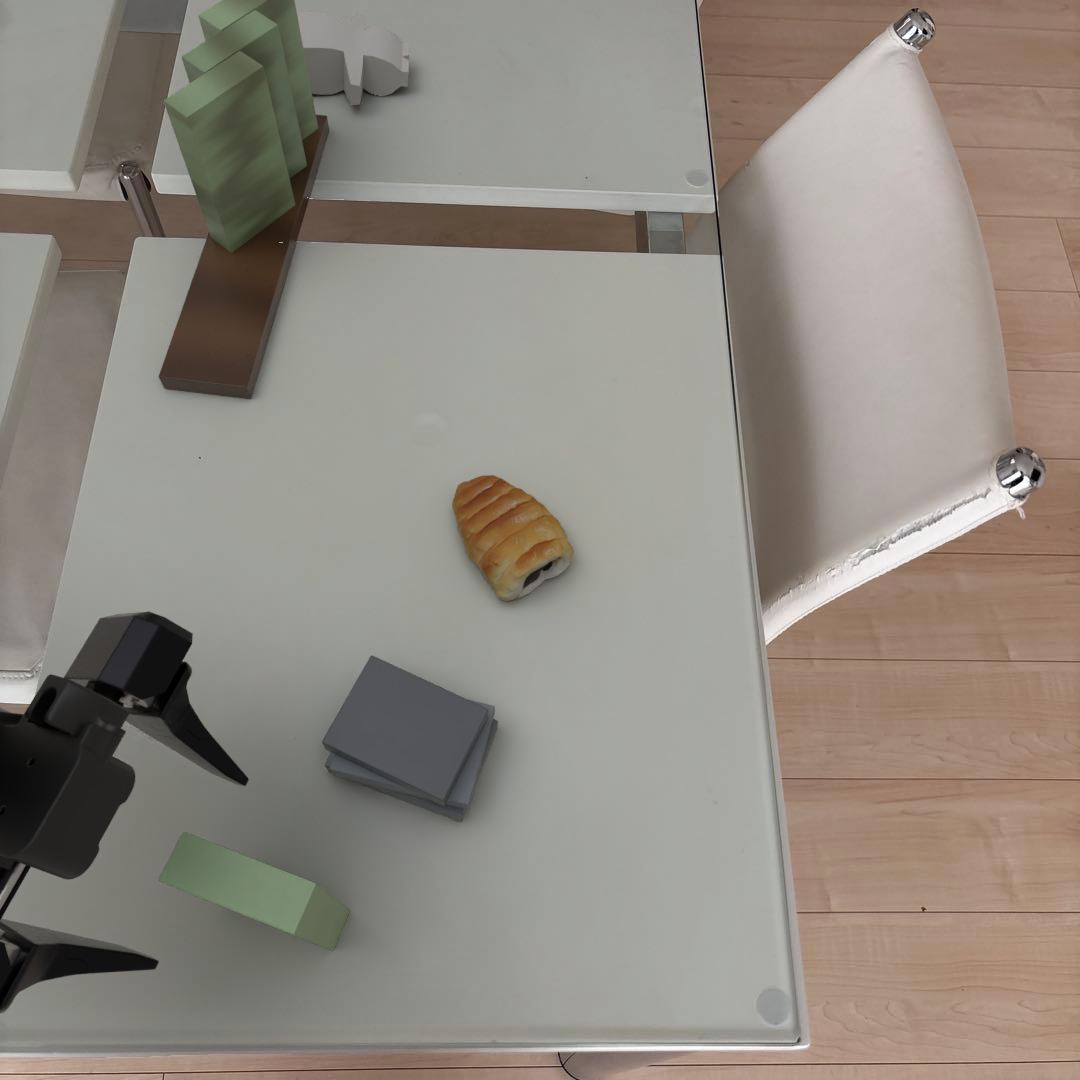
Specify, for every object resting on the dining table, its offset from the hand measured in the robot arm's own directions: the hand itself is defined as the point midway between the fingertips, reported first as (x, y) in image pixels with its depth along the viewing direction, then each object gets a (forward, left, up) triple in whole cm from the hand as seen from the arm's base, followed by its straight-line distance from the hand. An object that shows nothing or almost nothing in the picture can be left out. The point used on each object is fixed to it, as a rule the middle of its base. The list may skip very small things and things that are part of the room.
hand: (201, 869), depth 48 cm
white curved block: (+20, +67, -10) cm, 71 cm away
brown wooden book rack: (+10, +49, -10) cm, 51 cm away
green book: (+2, -2, -10) cm, 10 cm away
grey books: (+12, +5, -10) cm, 16 cm away
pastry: (+22, +17, -10) cm, 30 cm away
